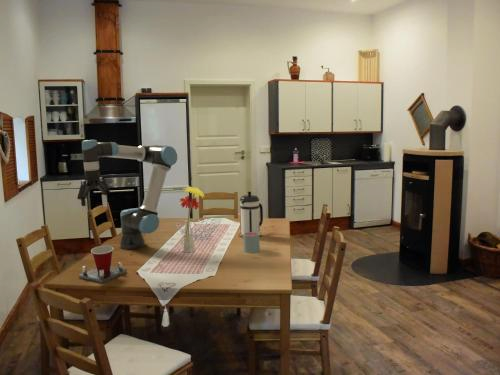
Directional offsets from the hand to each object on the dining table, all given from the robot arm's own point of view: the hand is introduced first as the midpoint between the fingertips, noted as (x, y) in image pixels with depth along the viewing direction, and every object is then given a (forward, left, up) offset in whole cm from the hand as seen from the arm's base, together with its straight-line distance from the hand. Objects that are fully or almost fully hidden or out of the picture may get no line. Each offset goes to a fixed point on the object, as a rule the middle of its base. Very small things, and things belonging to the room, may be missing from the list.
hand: (95, 209), depth 225 cm
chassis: (+12, +16, -30) cm, 36 cm away
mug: (-58, +63, -30) cm, 91 cm away
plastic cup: (+12, +16, -29) cm, 35 cm away
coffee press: (-84, +48, -30) cm, 101 cm away
